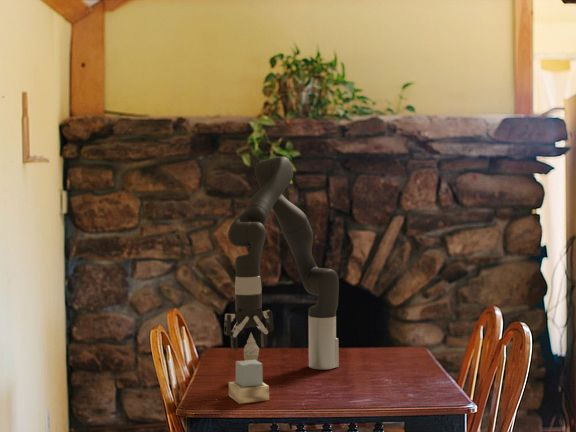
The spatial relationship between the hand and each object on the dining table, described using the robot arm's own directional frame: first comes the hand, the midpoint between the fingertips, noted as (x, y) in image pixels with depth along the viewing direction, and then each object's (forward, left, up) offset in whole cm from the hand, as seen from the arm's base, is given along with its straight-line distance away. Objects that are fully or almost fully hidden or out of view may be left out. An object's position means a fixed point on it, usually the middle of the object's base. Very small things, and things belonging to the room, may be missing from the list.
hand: (249, 348), depth 220 cm
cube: (0, 0, -10) cm, 10 cm away
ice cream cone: (-8, -20, -15) cm, 26 cm away
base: (0, 0, -14) cm, 14 cm away
